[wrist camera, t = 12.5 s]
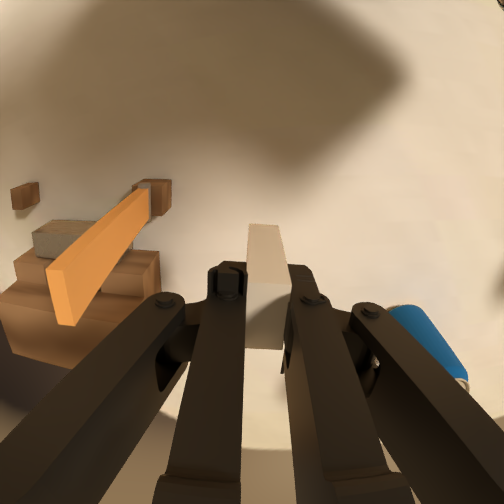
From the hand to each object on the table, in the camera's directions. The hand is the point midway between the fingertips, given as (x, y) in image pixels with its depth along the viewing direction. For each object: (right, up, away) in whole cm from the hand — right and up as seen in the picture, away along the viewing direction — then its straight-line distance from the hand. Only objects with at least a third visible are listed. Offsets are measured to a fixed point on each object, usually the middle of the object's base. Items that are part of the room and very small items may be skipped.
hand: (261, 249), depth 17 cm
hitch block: (-16, 0, +12) cm, 20 cm away
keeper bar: (-9, +1, 0) cm, 9 cm away
